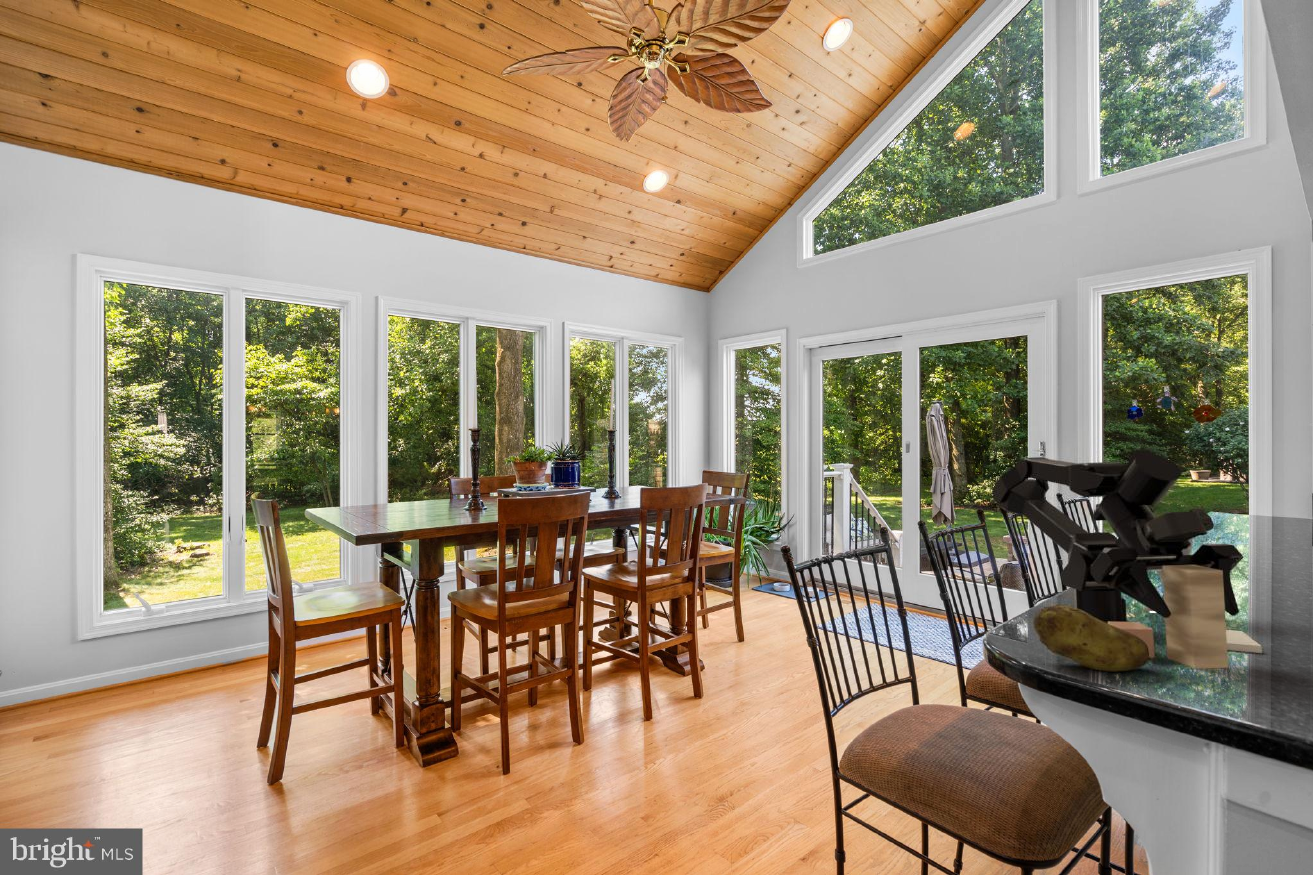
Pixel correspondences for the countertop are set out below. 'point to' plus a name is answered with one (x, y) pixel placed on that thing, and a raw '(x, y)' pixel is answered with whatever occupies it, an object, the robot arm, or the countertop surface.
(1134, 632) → the terracotta cube
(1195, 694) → the countertop surface
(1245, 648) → the stone tile
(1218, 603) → the beech block
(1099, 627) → the potato
